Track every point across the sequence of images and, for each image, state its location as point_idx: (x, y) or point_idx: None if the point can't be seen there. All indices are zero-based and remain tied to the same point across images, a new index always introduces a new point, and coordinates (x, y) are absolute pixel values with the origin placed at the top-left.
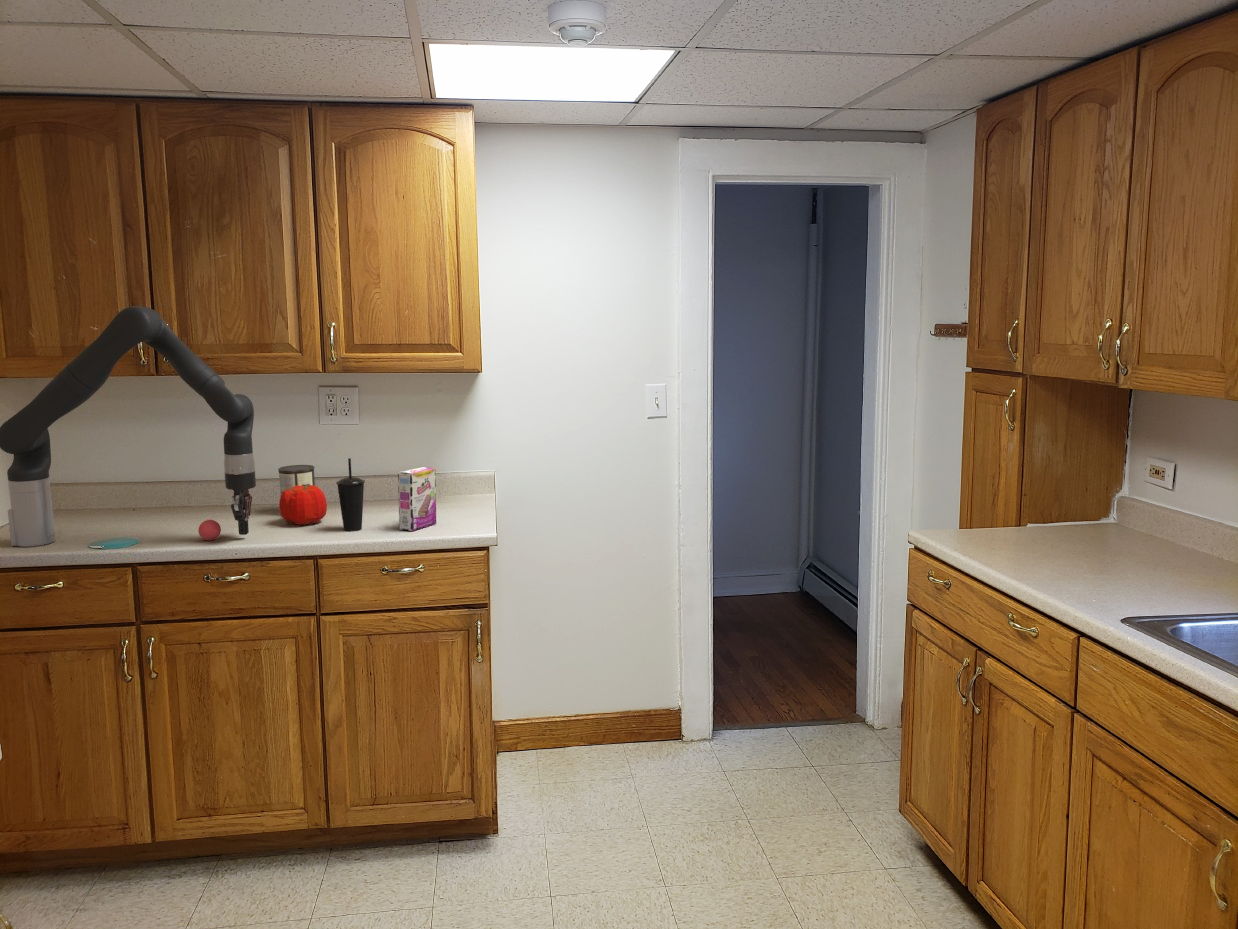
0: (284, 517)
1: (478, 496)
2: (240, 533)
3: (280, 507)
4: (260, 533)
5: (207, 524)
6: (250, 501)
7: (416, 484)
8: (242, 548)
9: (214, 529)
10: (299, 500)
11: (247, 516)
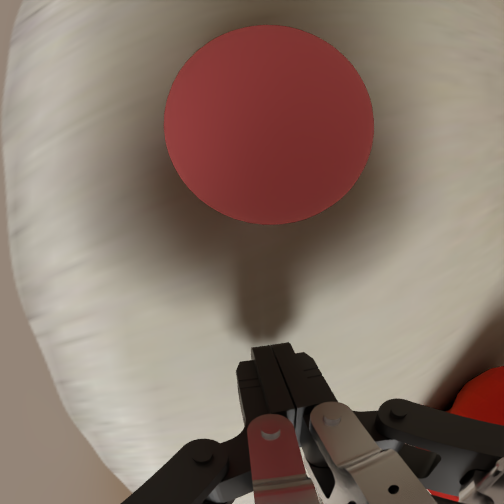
0: (466, 402)
1: None
2: (253, 356)
3: (502, 403)
4: (374, 365)
5: (192, 115)
6: (457, 494)
7: None
8: (61, 385)
9: (195, 194)
10: (448, 498)
11: (309, 470)
